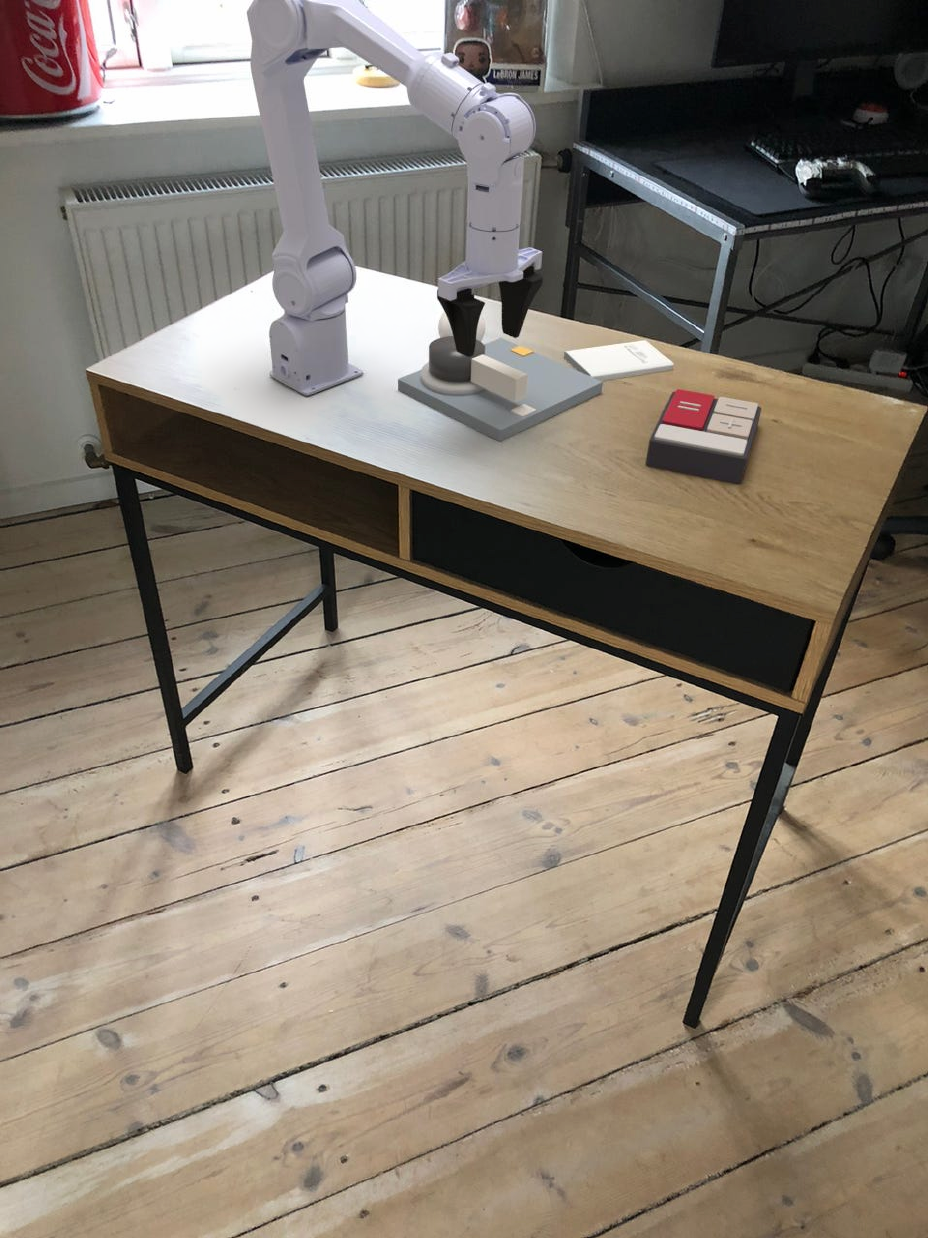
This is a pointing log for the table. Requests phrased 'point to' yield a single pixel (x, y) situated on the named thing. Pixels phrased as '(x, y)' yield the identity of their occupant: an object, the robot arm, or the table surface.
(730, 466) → the calculator
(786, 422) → the table surface
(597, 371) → the external hard drive
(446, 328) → the lightbulb
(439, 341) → the cap
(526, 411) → the base
